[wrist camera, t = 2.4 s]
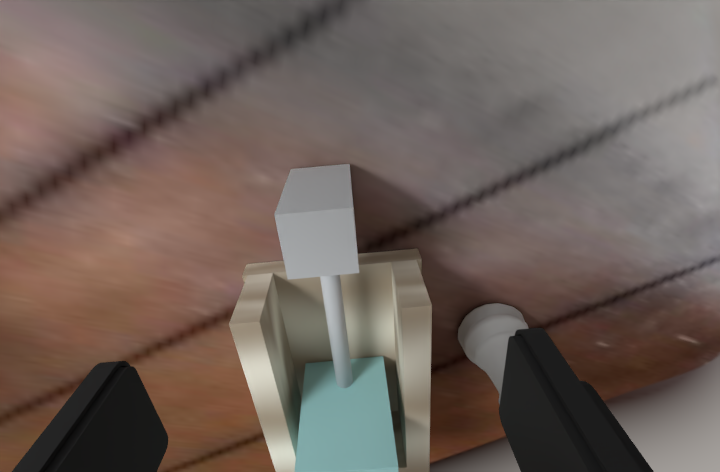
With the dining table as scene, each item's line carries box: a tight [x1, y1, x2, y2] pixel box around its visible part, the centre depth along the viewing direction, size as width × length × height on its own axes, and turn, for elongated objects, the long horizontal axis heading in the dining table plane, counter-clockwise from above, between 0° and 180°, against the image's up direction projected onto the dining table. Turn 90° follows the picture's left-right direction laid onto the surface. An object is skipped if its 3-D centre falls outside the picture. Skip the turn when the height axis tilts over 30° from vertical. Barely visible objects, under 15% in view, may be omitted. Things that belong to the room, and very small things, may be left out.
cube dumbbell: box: [274, 164, 399, 472], centre depth 20 cm, size 18×5×8 cm, turn 4°
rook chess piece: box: [458, 303, 529, 404], centre depth 22 cm, size 4×4×8 cm
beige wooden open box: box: [229, 248, 432, 472], centre depth 23 cm, size 14×10×5 cm
